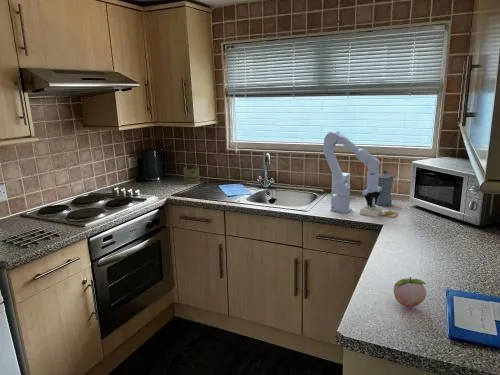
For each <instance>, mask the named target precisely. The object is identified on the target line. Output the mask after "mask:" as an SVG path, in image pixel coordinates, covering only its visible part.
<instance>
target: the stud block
mask: <svg viewBox="0 0 500 375" xmlns="http://www.w3.org/2000/svg"><path fill="white" fill-rule="evenodd" d="M398 215H399V212H397V211H393V210H383V211H382V213H381V214H380V215H379V216H380V217H386V218H392V219H395V218H396V217H397V216H398Z"/></svg>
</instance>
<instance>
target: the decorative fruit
mask: <svg viewBox="0 0 500 375" xmlns="http://www.w3.org/2000/svg"><path fill="white" fill-rule="evenodd" d="M424 285H427V283H426V282H425V281H423V280H421V279H419V278H412V277H411V276H409V278H408V277H406V278H400V279H398V280H397V282H395V283H394V285H393V295H394V298H395V300H396V302H398V303H399V304H400V305H401V306H403V307H406V308H407V309H408V308H414V307H417V306H419V305H420V304H422V303H424V300H425V299H426V298H427V290H426V287H425V286H424Z"/></svg>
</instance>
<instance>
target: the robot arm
mask: <svg viewBox="0 0 500 375" xmlns="http://www.w3.org/2000/svg"><path fill="white" fill-rule="evenodd" d="M336 145H343V146H344V147H346V148H347V149H348V150H350V151H351V152H353V153H354V155H355V158H356V159H357V160H359V162H362V163H363V164H364V165H366V167H367V174H366V175H367V176H366V188H365V189H364V190H362V195H363V196H364V198H365V200H366V205H367V206H369V207H372V201H373V198H374V197H375V206H377V205H376V202H377V199H378V197H379V195H380V192H379V191H381V190H382V187H379V186H378V180H379V174H380V173H379V172H380V168H379V166H380V164H381V161H380V160H379V158H378V157H375V155H372V154H371V153H369V151H368V149H367V148H365V149H364V148H359V147H358V146H357V145H356V144H355V143H354V142H353V141H351V140H350V139H349V138H348V137H346V136H345V135H344V134H343V133H341V132H340V131H339V130H332V131H330V132H327V134H326V135H325V137H324V138H323V148H322V151H323V154H324V156H325V160H326V162H327V164H328V167H329V169H330V172H331V175H332V174H333V177H334V179H335V186H336V194H333V195H332V194H331V201H330V211H331V212H337V213H344V214H348V213H349V212H351V211H352V210H353V209H352V208H350V196H351V195H350V194H351V193H350V194H349V192H348V191H349V190H350V191H351V188H352V187H351V183H350V184H349V183H348V182H347V180H346V178H345V177H344V176H343V174H342V173H343V172H342V169H341V166H340V164H339V161H338V159H337V156H336V154H335V150H334V149H335V146H336Z"/></svg>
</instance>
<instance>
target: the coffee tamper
mask: <svg viewBox="0 0 500 375" xmlns="http://www.w3.org/2000/svg"><path fill="white" fill-rule="evenodd" d="M376 206H377V205H375V197H374V198H373V201H372V207H369V206H367V209H368V210H376Z"/></svg>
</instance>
